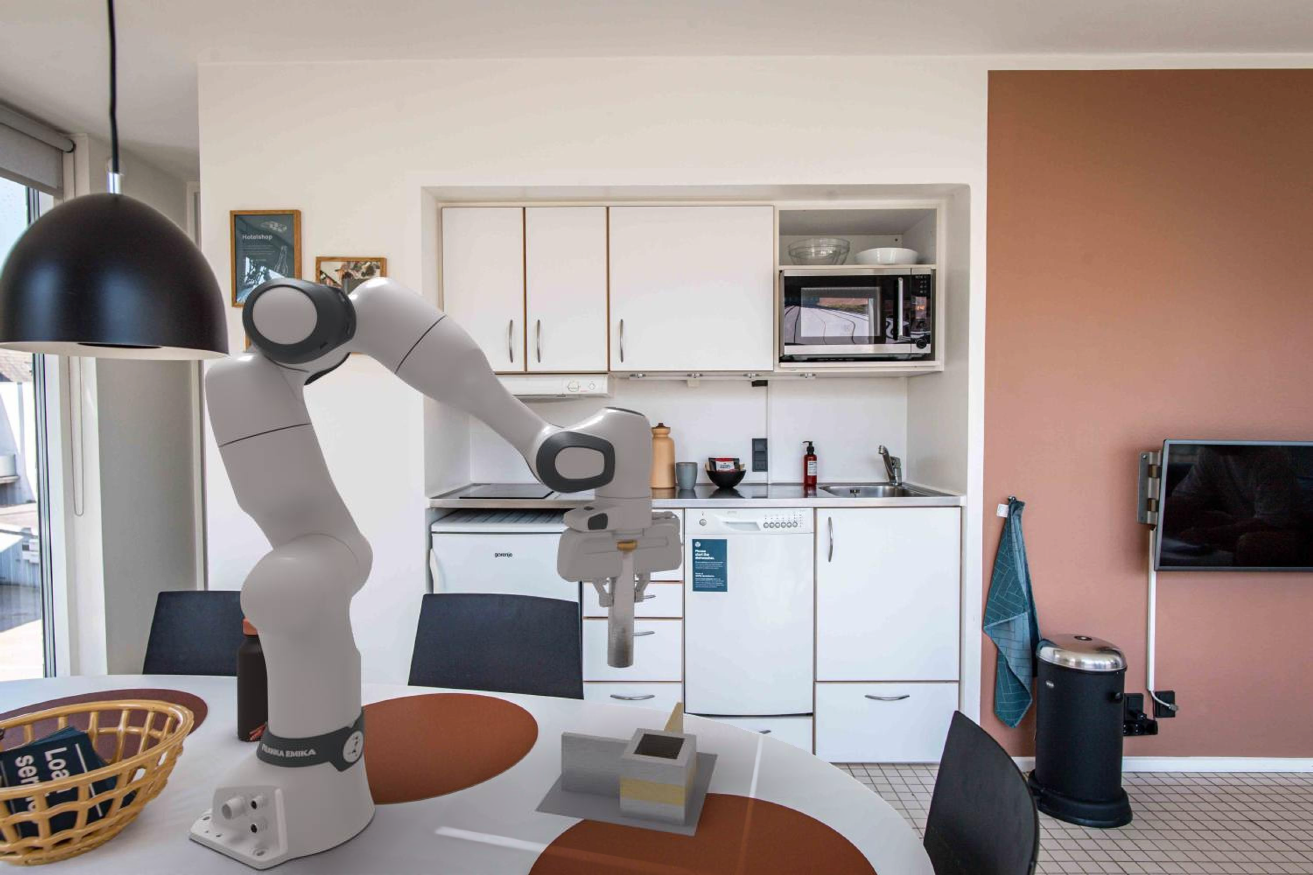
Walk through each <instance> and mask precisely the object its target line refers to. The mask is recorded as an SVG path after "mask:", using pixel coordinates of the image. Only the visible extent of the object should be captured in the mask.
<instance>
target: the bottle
mask: <svg viewBox="0 0 1313 875" xmlns="http://www.w3.org/2000/svg"><path fill="white" fill-rule="evenodd" d="M242 622H243V623H242V624H243V625H242V627H243V628H242V629H243V630H242V631H243V636H244V637H245V640H244V641H243V642H242V644H241V645H240V646H239V647H238V648H237V650H236V697H237V699H236V701H237V703H236V705H237V706H236V707H237V708H236V710H237V711H236V712H237V713H236V716H237V718H236V719H237V720H236V722H237V723H236V724H237V726H236V727H237V732H236V734H237V737H238V739H240V740H242V741H244V742H245V741H246V742H255V741H260V740H261V737H262V735H261V736H259V737H257V738H256V739H254V740H252V741H251V740H250V739H251V738H252V737H253V736H254V735H255V734H256V733H258V731H257V732H255V733H253V734H250V733H251V732H252V731H254V730H256V729H258V728H260V727H261V726H263V725H265V722H267V721H268V678H267V668H266V662H265V657H264V653H263V650H262V646H261V642H260V639H259V635H258V632H257V629H256V628H255V627H253V626H252V625H251V624H250V623H249V621H248V620H247V619H246V617H244V619H243V621H242Z"/></svg>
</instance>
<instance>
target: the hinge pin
mask: <svg viewBox="0 0 1313 875" xmlns="http://www.w3.org/2000/svg"><path fill="white" fill-rule="evenodd" d="M635 548H637V541H627V542H617V549H620V551H623V573H622V575H621V576H619V577H611V578H608V593H609V594H611V595H613V600H612V602H613V605H612V606H610V607H607V609H608V610H607V613H608V614H607V658H606V659H607V662H606V663H607V666H609V667H611V668H614V669H615V668H616V669H626V668H630V667H631V666H633V665H634V656H635V655H634V645H635V639H634V638H635V604H636V603H635V586H636V575H634V574H633V551H634V549H635Z"/></svg>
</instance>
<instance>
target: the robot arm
mask: <svg viewBox="0 0 1313 875" xmlns="http://www.w3.org/2000/svg"><path fill="white" fill-rule="evenodd" d="M241 321H242V327H243V329H244V330H243V331H244V332H245V335H246V337H247V338H248V340H249V342H250V344H251V345H249V347H248V348H246V350H243V351H242V352H236V353H233V354H230V355H228V356H225V357H223V358H221V359H218V360H217V361H216V362H215V363H213V365H211V367H210V368H209V369H208V370H207V371H206V374H205V377H204V390H205V400H206V405H207V406H206V407H207V412H208V417H209V420H210V421H209V422H210V425H211V429H212V432H213V436H214V439H215V443H216V445H217V448H218V451H219V454H220V457H221V460H222V463H223V465H224V467H225V470H226V474H227V477H228V480H229V482H230V486H231V487H232V491H233V494H234V496H235V499H236V502H237V504H238V506H239V508H241V510H242V511H243V512H244V513H246V514H247V515H249V516H250V517H251V519H253V520H254V522H255V523H256V524H257V526H258V527H259V528H260V531H262V533H263V535H264V536H265V537H266V539H267V540H268V541H267V542H269V544H270V546H271V548H272V550H270V551H268V553H266V554H265V555H264V556H262V558H260V559H259V561H258V562H257V563H256V564H255V565H254V566H253V568H252V569H251V570H250V572H249V574H248V575H247V576H246V578H245V580H244V581H243V584H242V586H241V590H240V594H239V596H240V597H239V598H240V599H239V602H240V607H241V610H242V614H243V616H244V618H246V619H247V620H248V621H249V623H250V624H251V625H252V626H253V627H255V628H256V629H257V632H258V635H259V639H260V642H261V646H262V650H263V653H264V657H265V662H266V668H267V678H268V721H267V722H265V725H263V726H261V727H260V728H258V729H256V730H254V731H252V732H251V733H250V734H253V733H255V732H257V731H258V733H256V734H255V735H254V736H253V737H252V738H251V739H250V740H251V741H250V742H253V741H252V740H254V739H256V738H257V737H259V736H261V735H262V737H261V740H259V743H258V745H257V748H256V750H255V751H254V752H253V753H251V754H249V755H248V756H247V757H246V758H245V759H243V760H242V761H241V762H239V764H237V765H236V766H235V767H233V768H232V769H231V770H230V771H228V772H227V773H226V774H225V775H223V777H222V778H221V779H220V781H219V782H218V784H217V785H216V788H215V790H214V793H213V799H212V806H211V807H210V808H209V809H208V810H206V811H205V812H204V813H203V814H202V815H200V817H198V819H197V820H196V821H195V822H194V823H193V824H192V826H191V828H190V830H189V838H190V839H191V840H193V841H195V842H197V843H199V844H201V845H204V846H206V847H208V848H210V849H212V850H214V851H217V852H220V853H222V854H224V855H225V856H228V857H231V858H233V859H234V860H237V861H239V862H241V863H244V864H245V865H247V866H250V867H253V868H254V869H258V870H265V869H269V868H271V867H274V866H277V865H279V864H282V863H284V862H286V861H289V860H291V859H296V858H301V857H304V856H309V855H310V856H311V855H313V854H317V853H321V852H323V851H327V850H329V849H332V848H334V847H336V846H339V845H341V844H343V843H345V842H347V841H348V840H350V839H351V838H353V837H355V836H356V835H357V834H359V833H360V832H361V831H362V830H364V829H365V828H366V827H367V826H368V824H369V823H370V822H371V820H372V819H373V817H374V815H375V811H376V806H375V803H374V800H373V796H372V794H371V790H370V786H369V781H368V776H367V771H366V763H365V762H366V761H365V757H364V746H365V740H366V717H365V710H364V707H362V655H361V652H360V649H358V647H357V644H356V642H355V638H354V633H353V627H352V624H351V616H350V614H351V613H350V608H351V603H352V600H353V599H352V598H353V597H354V596H355V595H356V594H357V593H358V592H359V591H360V590H362V589H363V588H364V586H365V584H366V583H367V581H368V580H369V577H370V574H371V570H372V568H373V567H372V566H373V562H374V561H373V560H374V554H373V549H372V547H371V544H370V542H369V540H368V539H367V538H366V536H364V534H362V533H361V531H360V530H359V527H358V525H357V523H356V522H355V519H354V518H353V516H352V514H351V512H350V510H349V509H348V507H347V505H346V503H345V502H344V500H343V498H342V497H341V495H340V493H339V491H338V489H337V487H336V485H335V483H334V480H333V478H332V477H331V473H330V471H329V468H328V465H327V462H326V459H325V457H324V454H323V450H322V447H321V445H320V443H319V439H318V436H317V432H316V430H315V427H314V425H313V422H312V419H311V417H310V414H309V410H308V408H307V405H306V404H307V403H306V401H305V396H304V386H308V385H311V384H313V383H314V382H316V381H317V380H319V379H320V378H322V377H324V376H325V375H329V374H330V373H331V372H333V371H335V370H337V369H338V368H339V367H341V366H342V365H343V364H344V363H345V362H346V361H347V359H349V357H350V355H351V353H360V354H364V355H367V356H369V357H370V358H372V359H374V361H375V360H376V361H377V362H378V363H379V364H381V365H382V366H383V367H385V368H386V369H387V370H389V371H390V372H391V373H392V374H393V375H394V376H396V377H397V378H399V380H401V381H403V383H405V384H407V385H408V386H409V387H411V388H413V389H414V390H416V391H418V392H419V393H421V394H423V395H424V396H426V397H428V398H430V399H432V400H434V401H436V402H438V403H440V404H443V405H445V406H448V407H452V408H453V409H457V410H459V411H462V412H463V413H467V414H468V415H470V416H473V417H474V418H476V419H478V420H479V421H481V422H483V423H484V424H485V425H486V426H487V427H488V428H489V429H491V430H492V431H493V432H495V433H496V434H498V435H499V436H500V437H501V438H502V439H504V440H505V441H506V442H508V443H509V444H510V445H511V446H512V447H514V448H515V449H516V450H517V451H518V452H519V453H520V454H521V455H522V457H523V459H524V460H525V464H527V467H528V468H529V471H530V472H531V474H532V476H533V477H534V478H535V479H536V480H537V481H538V482H539V483H540V484H542V485H543V486H545V487H547V488H548V489H549V490H550V491H553V492H554V493H558V494H562V495H563V494H564V495H574V494H577V493H580V492H585V491H586V492H587V491H590V490H594V491H593V492H594V499H593V501H590V502H589V503H586V504H583V505H581V506H578V507H577V508H574V509H571V510H569V511H567V512H565V513H564V514H563V520H562V521H563V525H564V526H566V527H567V528H566V529H564V530H563V531H562V533H561V535H560V538H559V541H558V547H557V555H556V559H557V560H556V571H557V574H558V576H559V577H560V578H561V579H563V580H565V581H566V582H569V583H577V582H584V581H586V582H587V581H592V582H591V583H592V586H594V588H595V591H596V592H597V594H598V605H599V607H601V608H608V607H610V606H612V605H613V602H612V600H613V595H611V594H609V592H608V591H607V590H606V589H605V587H604V586H606V585H607V581H608V579H609V578H611V577H619V576H621V575H622V573H623V551H620V549H617V542H627V541H637V548H635V549H634V551H633V574H634V575H635V578H637V579H638V580H637V582H636V583H635V604H636V603H643V602H644V600H645V599H644V598H645V597H644V595H645V594H644V593H645V590H646V589H647V587H648V585H649V584H650V581H651V576H652V573H659V572H667V571H674V570H675V571H676V570H679V568H680V566H681V565H682V562H683V552H682V542H681V541H682V540H681V534H680V533H681V519H680V518H679V516H678V515H677V514H675V513H674V512H673V511H671V510H667V511H653V490H652V486H651V474H652V471H653V466H654V450H653V448H654V446H653V445H654V444H653V432H652V427H651V424H650V423H651V422H650V420H649V419H648V418H647V417H646V415H644V413H641V412H638V411H635V410H632V409H629V408H622V407H615V406H605V407H602V408H601V409H600V410H599V411H598V412H596V413H595V414H592V415H591V416H589V417H587V418H585V419H583V420H581V421H579V422H576V423H574V424H571V425H568V426H566V427H563V426H560V425H556V424H552V423H551V422H548V421H546V420H545V419H543V418H542V417H540V416H539V415H538V413H537V414H536V413H535V412H534V411H533V410H532V409H531V408H530V407H528V406H527V405H526V404H524V402H522V401H521V400H520V399H519V398H517V397H516V396H515V395H514V394H512V392H510V391H509V390H508V389H507V388H506V387H505V385H504V384H503V383H502V382H501V381H500V380H499V378H498V377H497V376H496V374H495V372H494V370H493V368H492V367H491V364H490V363H489V360H488V359H487V356H486V354H485V353H484V351H483V349H481V347H480V346H479V345H478V344H477V342H476V341H475V340H474V339H473V337H471V335H469V333H467V331H466V330H465V329H464V328H463V327H462V326H461V325H459V323H457V322H456V321H455V320H454V319H453V318H452V317H451V316H449V315H448V314H446V313H445V312H444V311H443V310H442V309H441V308H439V307H437V305H435V304H434V303H432V302H431V301H429V300H428V298H425V297H423V296H422V295H420V294H419V293H418V292H416V291H414V290H413V289H411V288H409V287H408V286H406V285H404V284H402V283H400V282H399V281H397V280H395V279H393V278H391V277H386V276H377V277H372V278H370V279H367V280H365V281H364V282H362V283H361V284H359V285H357V287H355V288H354V289H353V290H352V291H351V292H350V293H349V294H347V293H346V291H345V290H344V289H342V288H341V287H339V286H334V285H329V284H325V283H320V282H315V281H313V280H312V281H311V280H306V279H302V278H295V277H277V278H271V279H268V280H266V281H263V282H261V283H260V284H258V285H257V286H255V287H254V288H253V289H252V290H251V291H250V293H248V295H247V296H246V298H245V300H244V303H243V306H242V312H241Z"/></svg>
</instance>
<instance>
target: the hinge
mask: <svg viewBox="0 0 1313 875" xmlns="http://www.w3.org/2000/svg"><path fill="white" fill-rule="evenodd" d="M560 737H561V738H560V740H561V743H560V745H561V749H560V751H561V755H560V756H561V757H560V758H561V761H560V762H561V764H560V765H561V766H560V772H561V773H560V775H561V790H564V791H571V792H578V793H584V794H591V795H598V796H604V797H611V798H618V799H620V817H626V818H633V819H639V820H646V821H652V822H658V823H665V824H671V825H677V826H685V823H686V820H687V816H688V813H689V810H690V807H691V804H692V801H693V797H694V794H695V791H696V752H697V734H691V733H684V702H681V701H679V702H678V701H677V702H676V703H675V706H674V708H673V710H672V712H671V714H670V716H669V718H668V721H667V722H666V724H665V727H664V729H663V730H660V729H659V730H658V729H652V728H651V729H649V728H642V727H637V728H636V730H635V731H634V733H633V735H632V737H631V738H630V740H629V739H621V738H615V737H607V736H598V735H592V734H583V733H575V732H568V731H563V732H562V734H561V736H560Z"/></svg>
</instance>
